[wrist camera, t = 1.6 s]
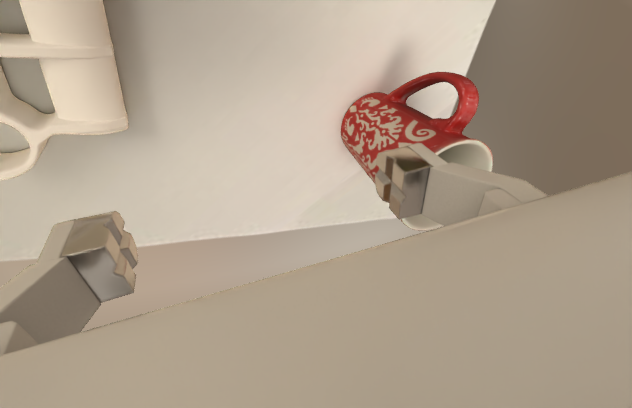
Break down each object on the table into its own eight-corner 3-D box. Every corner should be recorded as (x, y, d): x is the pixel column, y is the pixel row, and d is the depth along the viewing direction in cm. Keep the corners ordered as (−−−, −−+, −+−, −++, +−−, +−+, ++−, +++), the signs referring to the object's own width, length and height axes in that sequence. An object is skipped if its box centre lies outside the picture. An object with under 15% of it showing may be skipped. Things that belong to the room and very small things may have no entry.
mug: (386, 164, 42) (458, 231, 32) (322, 157, 38) (383, 232, 28) (431, 59, 36) (540, 103, 26) (361, 37, 32) (458, 79, 22)
